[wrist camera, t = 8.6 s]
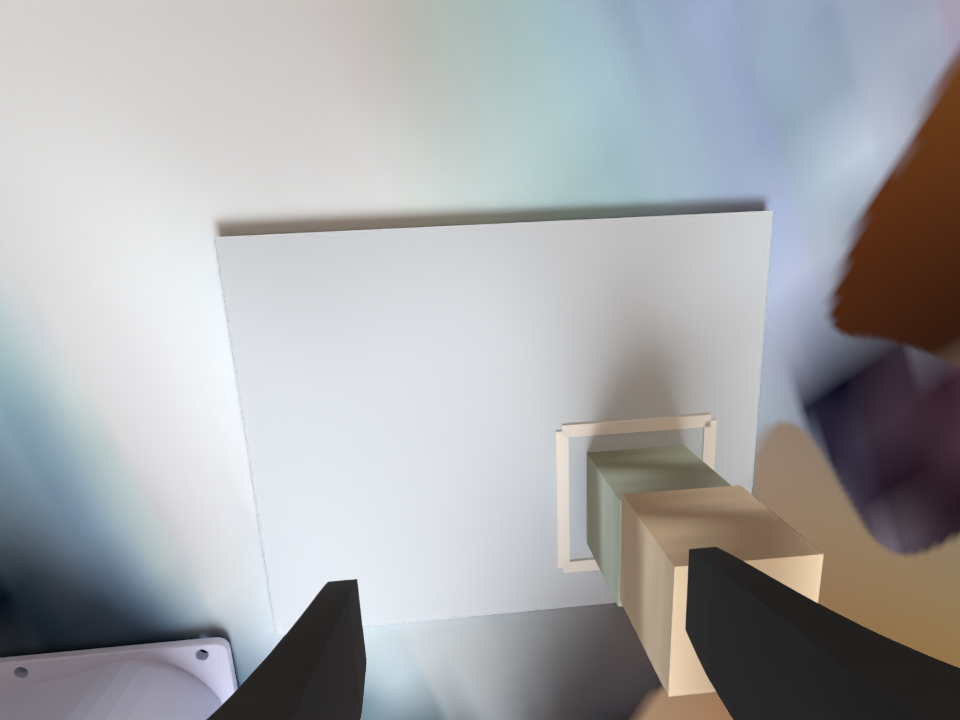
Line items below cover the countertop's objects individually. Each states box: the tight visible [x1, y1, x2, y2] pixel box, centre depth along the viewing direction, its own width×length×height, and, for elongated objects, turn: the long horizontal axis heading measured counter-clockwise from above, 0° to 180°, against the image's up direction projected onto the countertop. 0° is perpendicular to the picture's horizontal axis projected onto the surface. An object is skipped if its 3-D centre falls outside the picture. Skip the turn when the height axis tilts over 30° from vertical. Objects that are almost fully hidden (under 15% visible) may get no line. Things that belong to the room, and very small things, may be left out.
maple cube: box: [620, 485, 824, 697], centre depth 17 cm, size 4×4×4 cm
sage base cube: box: [587, 445, 731, 607], centre depth 20 cm, size 4×4×4 cm
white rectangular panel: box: [215, 211, 773, 636], centre depth 22 cm, size 20×16×1 cm
